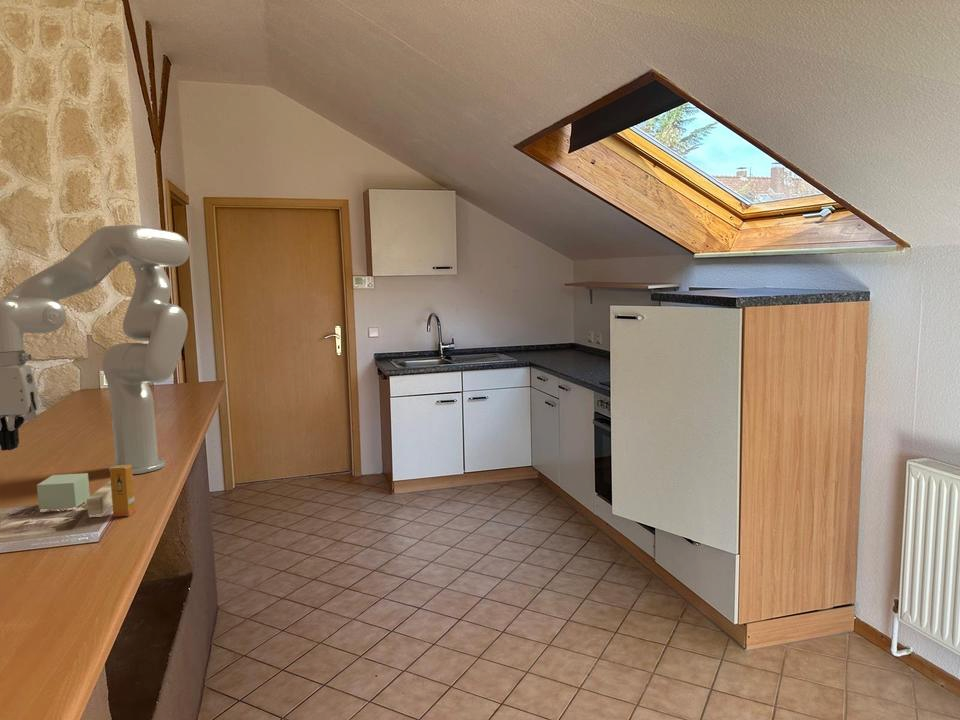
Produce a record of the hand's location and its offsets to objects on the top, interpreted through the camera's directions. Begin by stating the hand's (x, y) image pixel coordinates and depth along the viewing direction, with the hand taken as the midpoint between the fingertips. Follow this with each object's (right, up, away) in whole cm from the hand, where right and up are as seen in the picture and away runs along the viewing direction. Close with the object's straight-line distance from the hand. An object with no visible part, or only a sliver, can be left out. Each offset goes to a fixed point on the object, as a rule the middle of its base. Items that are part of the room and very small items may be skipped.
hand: (9, 448), depth 139 cm
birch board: (+18, -12, +5) cm, 23 cm away
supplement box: (+25, -13, -2) cm, 28 cm away
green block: (+9, -13, +4) cm, 16 cm away
